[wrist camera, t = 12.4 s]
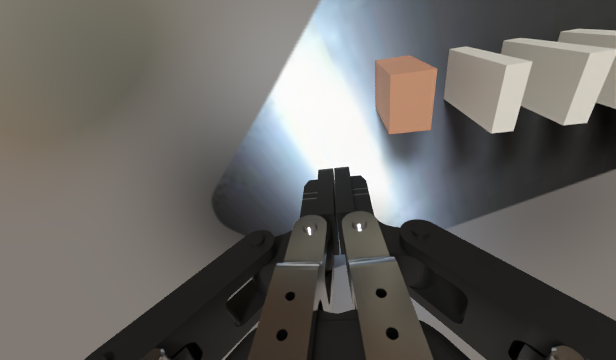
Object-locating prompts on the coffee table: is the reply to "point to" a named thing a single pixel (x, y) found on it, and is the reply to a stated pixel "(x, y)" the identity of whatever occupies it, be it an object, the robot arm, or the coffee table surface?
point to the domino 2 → (486, 86)
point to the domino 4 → (612, 91)
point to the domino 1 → (405, 93)
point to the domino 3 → (561, 77)
